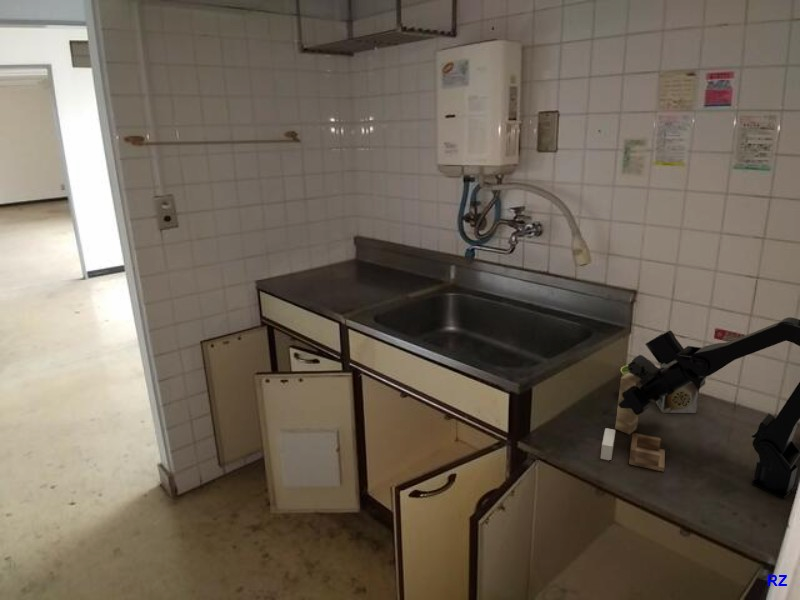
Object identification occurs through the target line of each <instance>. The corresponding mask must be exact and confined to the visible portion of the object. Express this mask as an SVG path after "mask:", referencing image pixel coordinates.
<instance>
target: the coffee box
mask: <svg viewBox="0 0 800 600" xmlns="http://www.w3.org/2000/svg"><path fill="white" fill-rule="evenodd" d="M676 362H677V360H674V361H672V362H670V363H669V364H667V365H665V363H664V364H660V363H659V364H660V365H659V368H662V367H664V368H665V367H668V366H670V365H672V364H674V363H676ZM699 395H700V389H697V388H696V386H695V385H694V384H693V382H692V383H690V384H688V385H686V386H684V387H682V388H680V389H678V390H676V391H675V392H673V393H672V394H670V395H666V396H663V397H661V399H659V400H658V401H656V402H655V404H656V406H657V407H658V408H659V410H660V411H661V412H662V413H666V414H667V413H669V414H670V413H673V414H678V413H679V414H696V413H697V408H698V402H699Z"/></svg>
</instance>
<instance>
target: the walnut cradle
mask: <svg viewBox="0 0 800 600" xmlns="http://www.w3.org/2000/svg"><path fill="white" fill-rule="evenodd" d="M660 446H661V437H658V436H651V435H646V434H640V433H636V432H632V435H631V444H630V451H629V459H628V460H629V461H628V465H631V466H636V467H641V468H646V469H649V470H655V471H659V472H665V466H666V465H665V463H666V462H665V460H666V459H665V455H666V454H665V452H666V450H665V449H661V448H660Z"/></svg>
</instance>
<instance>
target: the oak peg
mask: <svg viewBox="0 0 800 600" xmlns="http://www.w3.org/2000/svg"><path fill="white" fill-rule="evenodd" d="M641 380H642V379H641V378H639V377H636V376H634V375H633V374H630V373H627V374H626V375H624V376H621V377H620V385H619V392H618V401H617V409H616V418H615V419H616V420H615V426H614V427H615V428H614V430H617V431H620V432H622V433H625V434H628V435H631V434H633V433H634V432H635V431H637V428H638V421H639V415H636V414H634V412H633V411H632V409H629V408H620V406H619V403H621V402H622V401H623V400H624V398H623V396H622V393H623V392H624V391H625V390H627V389H629V388H630V387H631V386H636V387H639V388H640V387H642V384H641V383H640V382H639V381H641Z"/></svg>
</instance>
